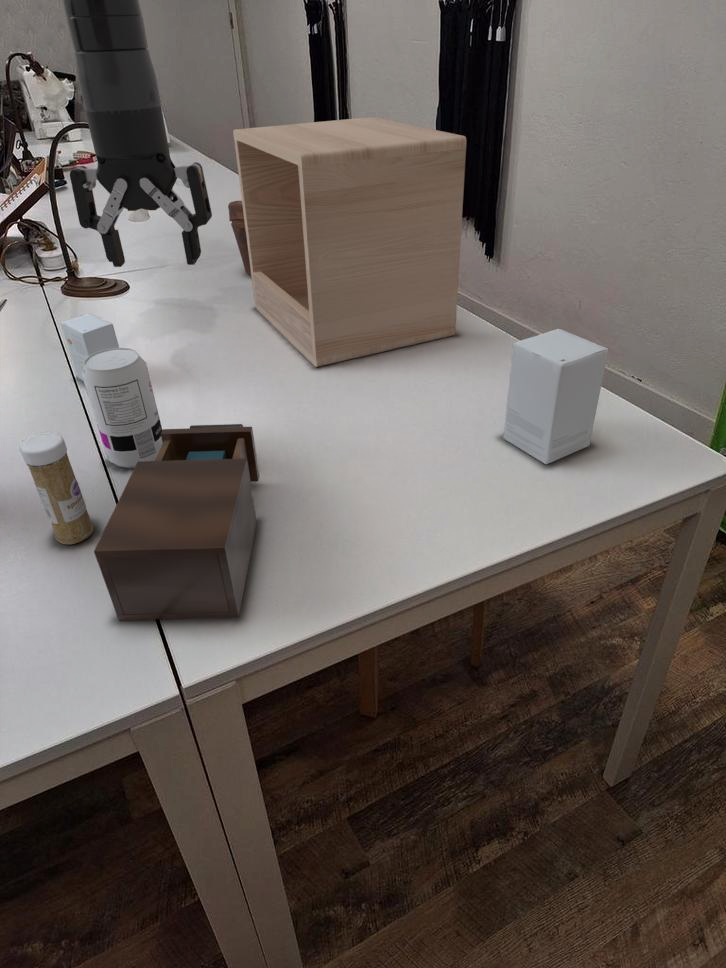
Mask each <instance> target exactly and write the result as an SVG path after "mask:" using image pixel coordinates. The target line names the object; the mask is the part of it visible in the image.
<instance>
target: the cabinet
mask: <svg viewBox="0 0 726 968" xmlns="http://www.w3.org/2000/svg"><path fill="white" fill-rule="evenodd" d="M131 472H132V473H131V475H130V476H129V479H128V481H127V483H126V485H125V486H124V488H123V491H122V493H121V495H120V497H119V499H118V501H117V503H116V505H115V506H114V510H113V511H112V513H111V515H110V518H109V519H108V522H107V523H106V525H105V527H104V530H103V532H102V534H101V536H100V538H99V540H98V542H97V545H96V546H95V548H94V550H93V553H94V555H95V558H96V561H97V563H98V566H99V569H100V573H101V575H102V578H103V581H104V583H105V586H106V589H107V592H108V594H109V597H110V600H111V603H112V606H113V609H114V611H115V614H116V617H117V620H118V621H142V620H144V621H145V620H178V619H179V620H181V619H213V618H215V619H216V618H218V619H219V618H239V617H240V611H241V606H242V601H243V596H244V591H245V586H246V580H247V575H248V570H249V566H250V561H251V555H252V549H253V545H254V539H255V534H256V530H257V529H256V528H257V524H258V521H257V515H256V510H255V509H256V508H255V502H254V496H253V490H252V482H251V483H250V477H249V471H248V465H247V459H246V458H244V459H210V460H176V461H143V462H137V464H136V466H135V467H133V471H131Z"/></svg>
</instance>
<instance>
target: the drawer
mask: <svg viewBox="0 0 726 968" xmlns="http://www.w3.org/2000/svg"><path fill="white" fill-rule="evenodd" d="M253 429H254V428H253V426H244V424H243V423H233V424H232V423H228V424H227V423H225V424H200V425H199V424H198V425H197V424H193V425H189V428H162V432H161V438H162V442H163V444H162V446H161V449H160V451H159V453H158V455H157V457H156V460H155V461H176V460H186V458H187V456H188V453H189V452H199V451H225V454H226V459H244V458H246V459H247V465H248V471H249V477H250V483H251V484H252V483H258V482H259V481H260V471H259V465H258V457H257V449H256V442H255V435H254V430H253Z"/></svg>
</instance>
